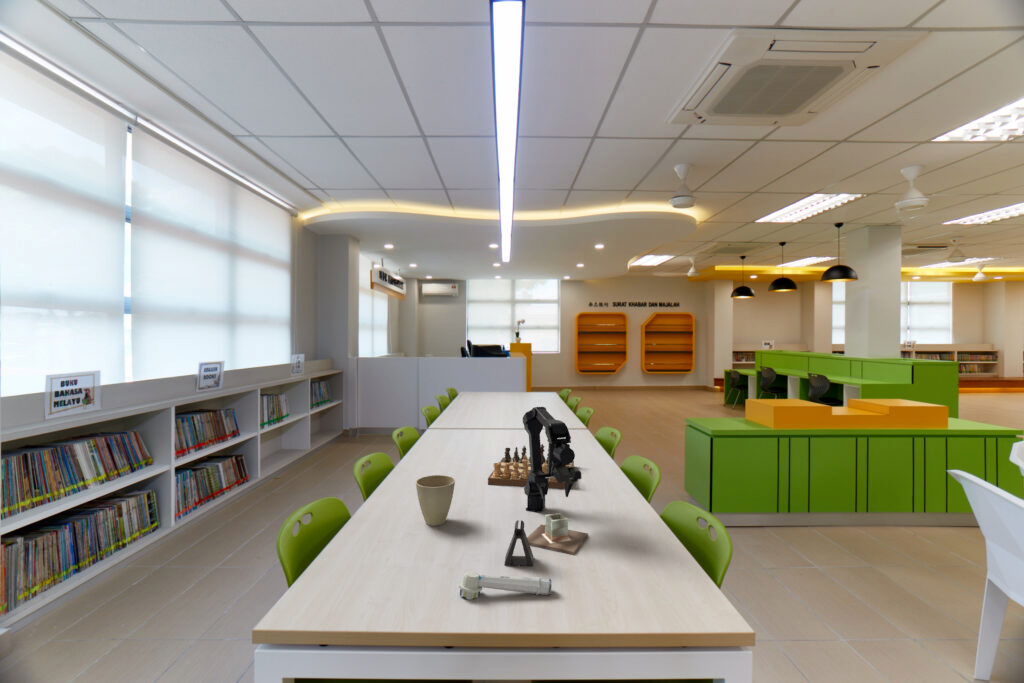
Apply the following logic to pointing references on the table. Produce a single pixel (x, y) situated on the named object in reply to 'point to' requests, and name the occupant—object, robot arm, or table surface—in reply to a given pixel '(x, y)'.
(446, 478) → the plant pot
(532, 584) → the toothbrush head
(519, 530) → the phone stand
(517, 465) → the chess set
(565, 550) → the pin board
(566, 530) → the sleeve
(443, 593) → the table surface
